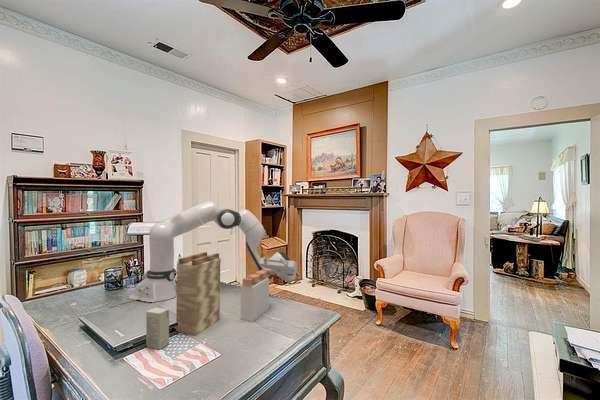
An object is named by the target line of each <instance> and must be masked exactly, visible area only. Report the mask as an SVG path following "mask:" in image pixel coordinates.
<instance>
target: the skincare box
mask: <svg viewBox="0 0 600 400" xmlns="http://www.w3.org/2000/svg"><path fill="white" fill-rule="evenodd" d="M145 312H146V313H145V316H146V317H145V322H146V323H145V326H146V327H145V329H146V330H145V331H146V333H145V335H146V336H145V337H146V338H145V341H146V343H145V344H146V347H147V348H153V349H156V350H161V349H163V348H165V347H166V346H167V345H169V344H170V309H169V308H165V307H164V308H163V307H157V306H156V307H154V308H151V309H149V310H146V311H145Z"/></svg>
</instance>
